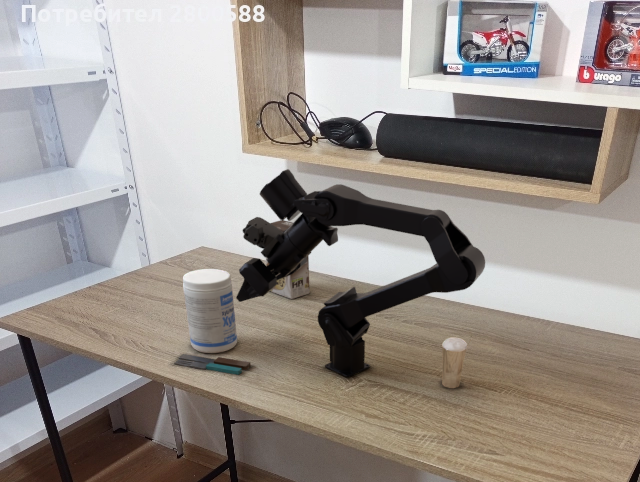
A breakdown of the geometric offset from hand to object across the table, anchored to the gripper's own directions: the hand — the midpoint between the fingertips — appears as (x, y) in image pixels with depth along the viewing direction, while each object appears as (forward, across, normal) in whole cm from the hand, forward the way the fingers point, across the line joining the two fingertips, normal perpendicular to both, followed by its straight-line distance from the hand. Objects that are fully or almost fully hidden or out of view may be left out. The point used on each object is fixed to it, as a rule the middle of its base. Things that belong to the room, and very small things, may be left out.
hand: (249, 291), depth 133 cm
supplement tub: (+15, 0, +3) cm, 16 cm away
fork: (+12, +10, +5) cm, 17 cm away
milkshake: (-20, 0, +38) cm, 44 cm away
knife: (+12, +8, +5) cm, 16 cm away
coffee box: (+14, -34, +4) cm, 37 cm away
